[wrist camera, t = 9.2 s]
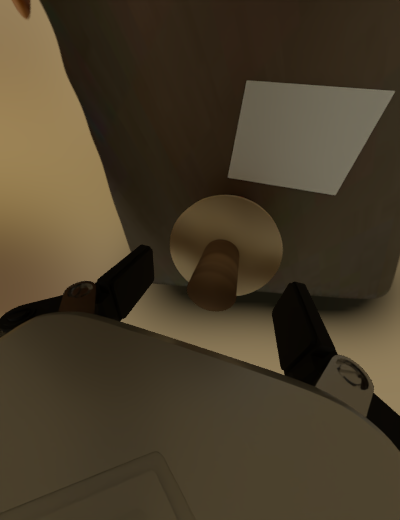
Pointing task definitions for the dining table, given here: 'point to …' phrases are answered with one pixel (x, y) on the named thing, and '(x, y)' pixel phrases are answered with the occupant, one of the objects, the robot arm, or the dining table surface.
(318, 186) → the mat
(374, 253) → the dining table surface
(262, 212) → the lid
